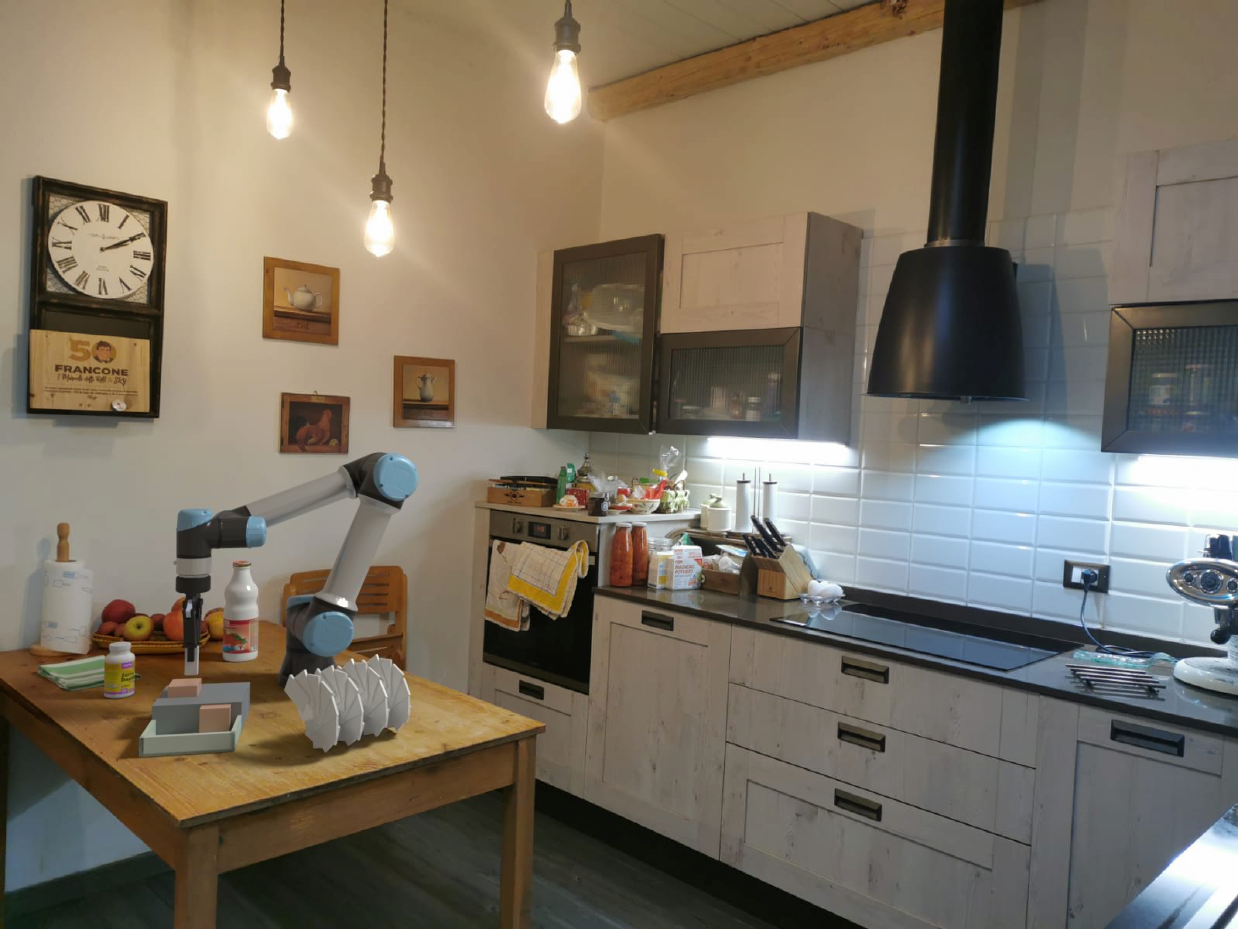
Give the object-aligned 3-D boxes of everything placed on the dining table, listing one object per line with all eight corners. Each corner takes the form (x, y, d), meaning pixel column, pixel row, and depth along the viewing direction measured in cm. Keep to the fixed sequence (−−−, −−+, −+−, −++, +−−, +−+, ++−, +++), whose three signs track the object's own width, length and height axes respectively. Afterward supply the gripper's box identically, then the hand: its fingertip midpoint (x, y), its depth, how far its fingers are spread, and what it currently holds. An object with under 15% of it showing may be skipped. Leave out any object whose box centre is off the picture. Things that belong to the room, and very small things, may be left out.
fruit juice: (264, 658, 262) (266, 562, 260) (233, 664, 254) (234, 565, 253) (247, 652, 267) (248, 558, 266) (216, 658, 260) (217, 561, 259)
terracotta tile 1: (231, 704, 199) (229, 707, 197) (230, 731, 199) (229, 734, 197) (201, 705, 198) (199, 709, 195) (201, 732, 198) (199, 736, 195)
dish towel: (66, 694, 224) (66, 683, 224) (33, 675, 239) (33, 665, 239) (141, 680, 238) (142, 670, 238) (106, 663, 253) (106, 653, 253)
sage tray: (241, 733, 200) (241, 715, 200) (234, 751, 189) (234, 732, 189) (151, 738, 195) (151, 719, 195) (139, 757, 184) (139, 738, 184)
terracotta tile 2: (201, 688, 208) (201, 678, 208) (196, 696, 202) (197, 685, 202) (172, 690, 206) (173, 679, 206) (167, 698, 201) (167, 686, 201)
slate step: (249, 711, 215) (250, 682, 215) (241, 733, 200) (241, 701, 200) (166, 715, 210) (166, 685, 210) (151, 738, 195) (152, 706, 195)
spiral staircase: (408, 748, 206) (312, 774, 186) (367, 700, 215) (271, 719, 195) (436, 683, 201) (340, 702, 181) (392, 636, 210) (297, 650, 191)
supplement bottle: (121, 700, 220) (121, 648, 219) (97, 698, 221) (97, 646, 220) (140, 692, 226) (141, 641, 226) (117, 690, 227) (118, 639, 227)
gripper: (181, 570, 217) (179, 667, 218) (170, 579, 205) (168, 682, 206) (215, 570, 219) (213, 666, 220) (206, 579, 207) (204, 681, 208)
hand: (191, 674), depth 213 cm, fingers closed
